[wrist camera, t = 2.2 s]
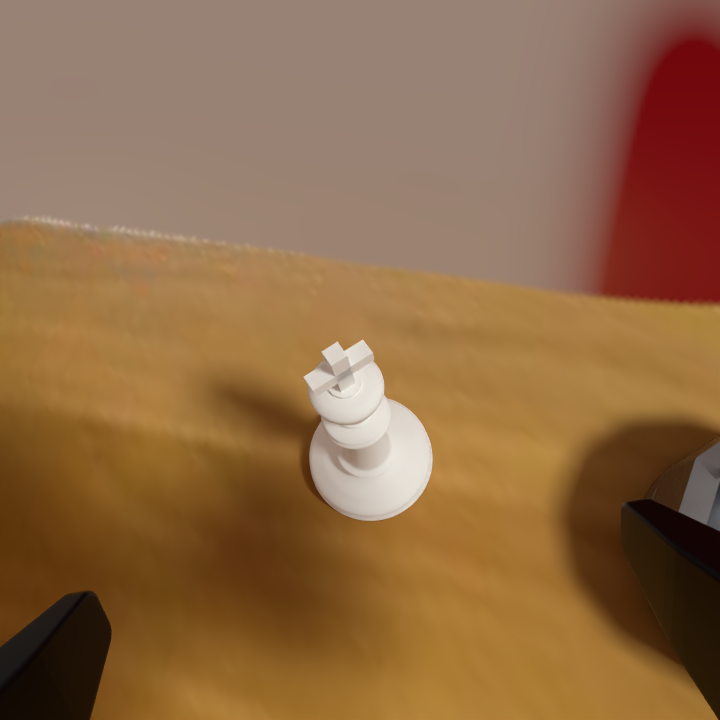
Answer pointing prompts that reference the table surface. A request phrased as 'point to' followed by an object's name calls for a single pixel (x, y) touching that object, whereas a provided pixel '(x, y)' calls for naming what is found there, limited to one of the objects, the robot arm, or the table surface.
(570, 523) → the table surface
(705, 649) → the robot arm
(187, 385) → the table surface
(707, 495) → the mount
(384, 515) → the chess piece
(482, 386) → the table surface
